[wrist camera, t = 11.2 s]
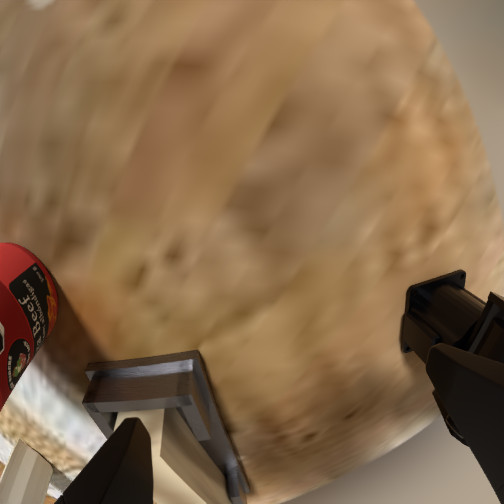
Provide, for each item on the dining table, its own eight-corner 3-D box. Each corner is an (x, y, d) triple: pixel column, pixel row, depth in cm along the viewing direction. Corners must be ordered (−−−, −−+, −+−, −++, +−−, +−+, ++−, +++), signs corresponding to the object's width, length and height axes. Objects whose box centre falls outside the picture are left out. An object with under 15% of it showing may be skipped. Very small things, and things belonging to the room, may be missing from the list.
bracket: (197, 349, 21) (197, 387, 17) (249, 485, 28) (253, 512, 24) (88, 363, 20) (72, 397, 16) (176, 493, 27) (176, 519, 24)
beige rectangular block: (166, 393, 21) (159, 456, 15) (230, 483, 26) (236, 528, 20) (121, 400, 20) (107, 459, 15) (196, 488, 26) (198, 532, 20)
